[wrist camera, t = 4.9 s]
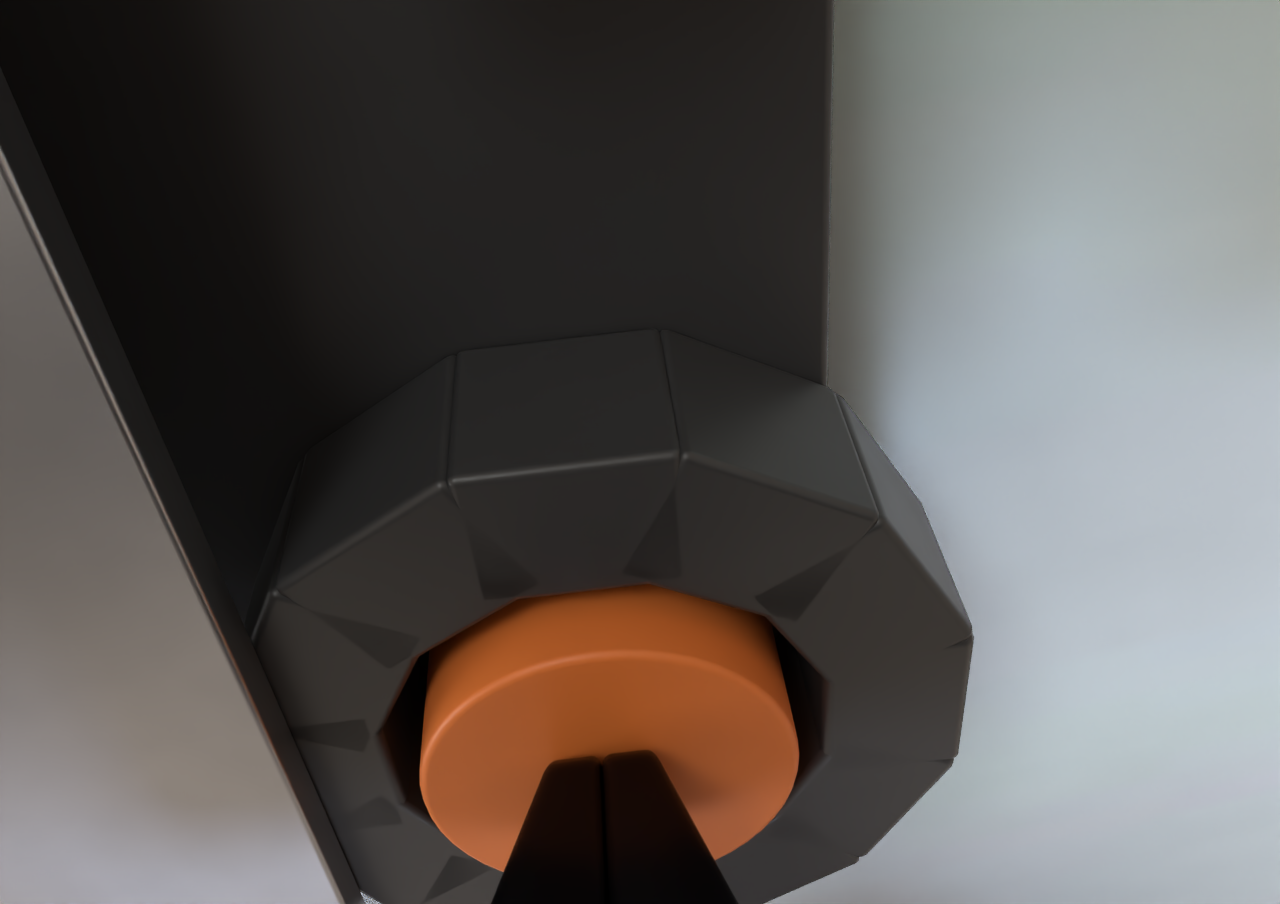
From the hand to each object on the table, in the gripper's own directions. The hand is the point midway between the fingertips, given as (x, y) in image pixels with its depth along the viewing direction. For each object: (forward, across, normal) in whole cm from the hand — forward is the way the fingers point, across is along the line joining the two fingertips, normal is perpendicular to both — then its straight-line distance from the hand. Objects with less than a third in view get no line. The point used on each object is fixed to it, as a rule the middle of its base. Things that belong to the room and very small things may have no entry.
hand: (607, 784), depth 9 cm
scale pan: (0, +7, -7) cm, 9 cm away
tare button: (+2, 0, 0) cm, 2 cm away
